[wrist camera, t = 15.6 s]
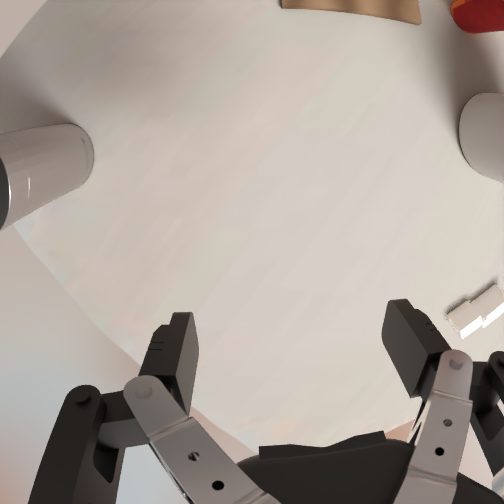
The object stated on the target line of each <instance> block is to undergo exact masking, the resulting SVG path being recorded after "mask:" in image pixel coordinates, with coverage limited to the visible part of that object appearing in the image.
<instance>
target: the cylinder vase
mask: <svg viewBox="0 0 504 504" xmlns="http://www.w3.org/2000/svg"><path fill="white" fill-rule="evenodd" d="M459 138H460V144H461V148H462V151H463V154H464V156H465V158H466V160H467V161H468V163H469V164H470V166H471V167H472V168H473V169H474V170H475V171H476V172H478V173H479V174H481V175H483V176H486V177H489V178H491V179H494V180H496V181H499V182H501V183H504V93H480V94H477V95H475V96H473V97H472V98H471V99H470V100H469V101H468V102H467V103H466V105H465V107H464V109H463V111H462V114H461V117H460V123H459Z"/></svg>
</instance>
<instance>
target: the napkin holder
mask: <svg viewBox="0 0 504 504" xmlns="http://www.w3.org/2000/svg"><path fill="white" fill-rule="evenodd" d="M503 312H504V291H503V290H502V289H501V288H499V287H498V286H497V285H496V284H494V285H493V286H491V287H490V288H489V289H488V290H486V291H485V292H484V293H483V294H481V295H480V296H479V297H477V298H476V299H475V300H473V301H472V302H471V301H470V300H469V301H465V302H464V303H463V304H461V305H460V306H459V307H457V308H456V309H454V310H453V311H452V312H450V313H449V314H447V317H448V320H449V323H450V325H451V326H452V327H453V328H454V330H455V331H456V332H457V334H458V335H459V336H460V337H461V339H463V338H465V337H466V336H468V335H469V334H470V333H472V332H473V331H474V330H476V329H477V328H478V327H480V326H482V328H484V327H486V326H487V325H488V324H489V323H491V322H492V321H493V320H494V319H496V318H497V317H498V316H499V315H501V314H502V313H503Z"/></svg>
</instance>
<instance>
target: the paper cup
mask: <svg viewBox="0 0 504 504" xmlns="http://www.w3.org/2000/svg"><path fill="white" fill-rule="evenodd" d="M451 14H452V17H453V19H454V21H455V22H456V24H457V25H458V26H459V27H460V28H461V29H462V30H463V31H465V32H467V33H470V34H476V33H485V32H495V31H504V0H456V1H454V2H453V3H452V5H451Z"/></svg>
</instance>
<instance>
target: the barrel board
mask: <svg viewBox="0 0 504 504" xmlns="http://www.w3.org/2000/svg"><path fill="white" fill-rule="evenodd" d="M281 4H282V8H287V9H312V10H326V11H337V12H346V13H354V14H362V15H368V16H375V17H381V18H386V19H391V20H397V21H401V22H406V23H410V24H415V25H420V24H421V17H420V10H419V4H418V0H281Z"/></svg>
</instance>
